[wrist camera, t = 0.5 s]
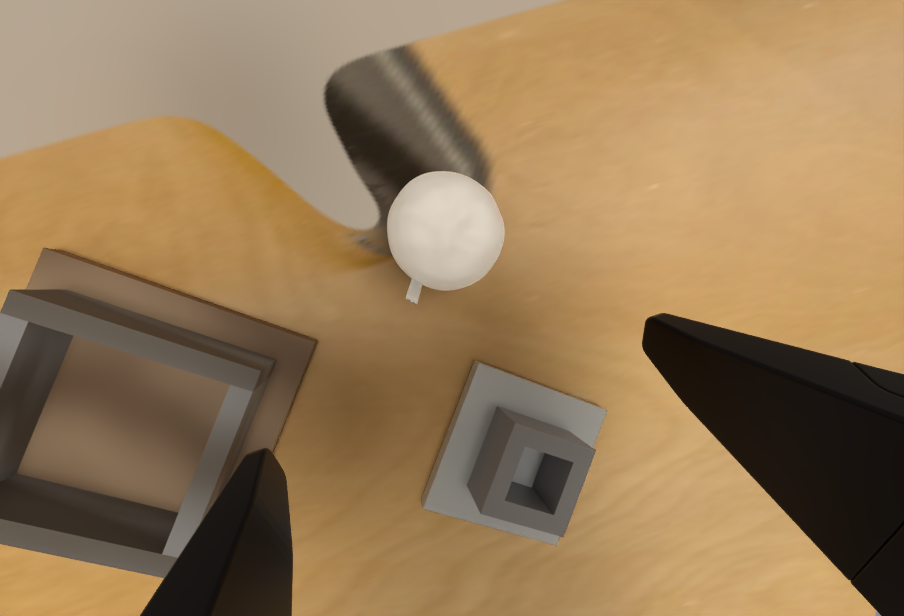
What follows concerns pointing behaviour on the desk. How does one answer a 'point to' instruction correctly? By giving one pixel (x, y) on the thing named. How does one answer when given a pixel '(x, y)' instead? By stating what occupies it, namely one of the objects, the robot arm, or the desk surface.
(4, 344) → the wide socket
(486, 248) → the milkshake
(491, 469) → the narrow socket
